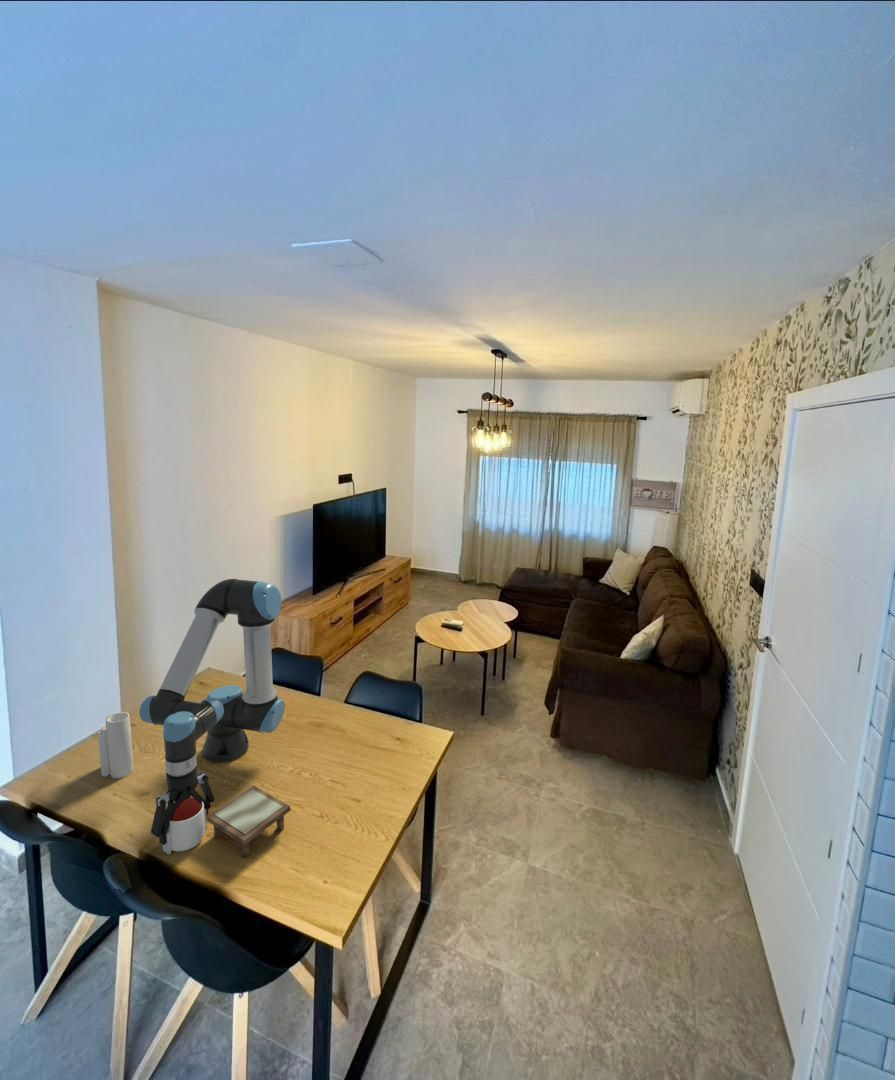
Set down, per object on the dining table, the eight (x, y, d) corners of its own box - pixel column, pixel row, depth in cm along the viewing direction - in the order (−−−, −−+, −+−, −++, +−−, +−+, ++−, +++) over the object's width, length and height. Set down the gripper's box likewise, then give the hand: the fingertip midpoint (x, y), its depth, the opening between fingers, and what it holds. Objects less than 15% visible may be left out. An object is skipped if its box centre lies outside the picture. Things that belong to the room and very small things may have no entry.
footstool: (207, 837, 149) (206, 815, 148) (254, 805, 163) (253, 784, 161) (244, 863, 141) (243, 839, 140) (290, 827, 155) (290, 805, 153)
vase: (138, 768, 177) (134, 714, 173) (119, 781, 170) (114, 725, 166) (113, 760, 180) (108, 707, 176) (93, 772, 173) (87, 717, 169)
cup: (174, 827, 152) (172, 796, 150) (210, 826, 153) (209, 796, 151) (158, 854, 143) (156, 822, 141) (197, 853, 143) (195, 821, 141)
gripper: (148, 797, 132) (153, 872, 136) (226, 753, 151) (229, 820, 155) (131, 785, 136) (137, 859, 140) (210, 744, 155) (213, 810, 159)
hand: (185, 839), depth 148 cm, fingers closed on cup, 10 cm apart
